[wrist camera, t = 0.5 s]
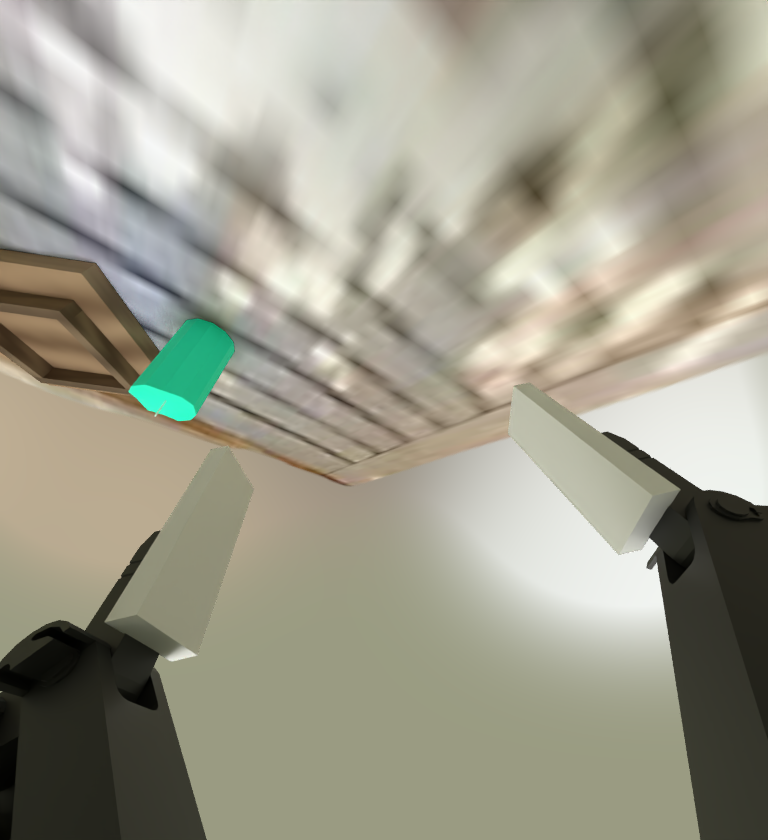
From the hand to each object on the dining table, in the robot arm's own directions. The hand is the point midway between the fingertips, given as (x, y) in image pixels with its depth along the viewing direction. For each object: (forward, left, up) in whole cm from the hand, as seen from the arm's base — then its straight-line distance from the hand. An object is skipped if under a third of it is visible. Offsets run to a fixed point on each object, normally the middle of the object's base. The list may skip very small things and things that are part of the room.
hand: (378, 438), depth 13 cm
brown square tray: (+16, -40, -19) cm, 47 cm away
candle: (+14, -22, -20) cm, 33 cm away
